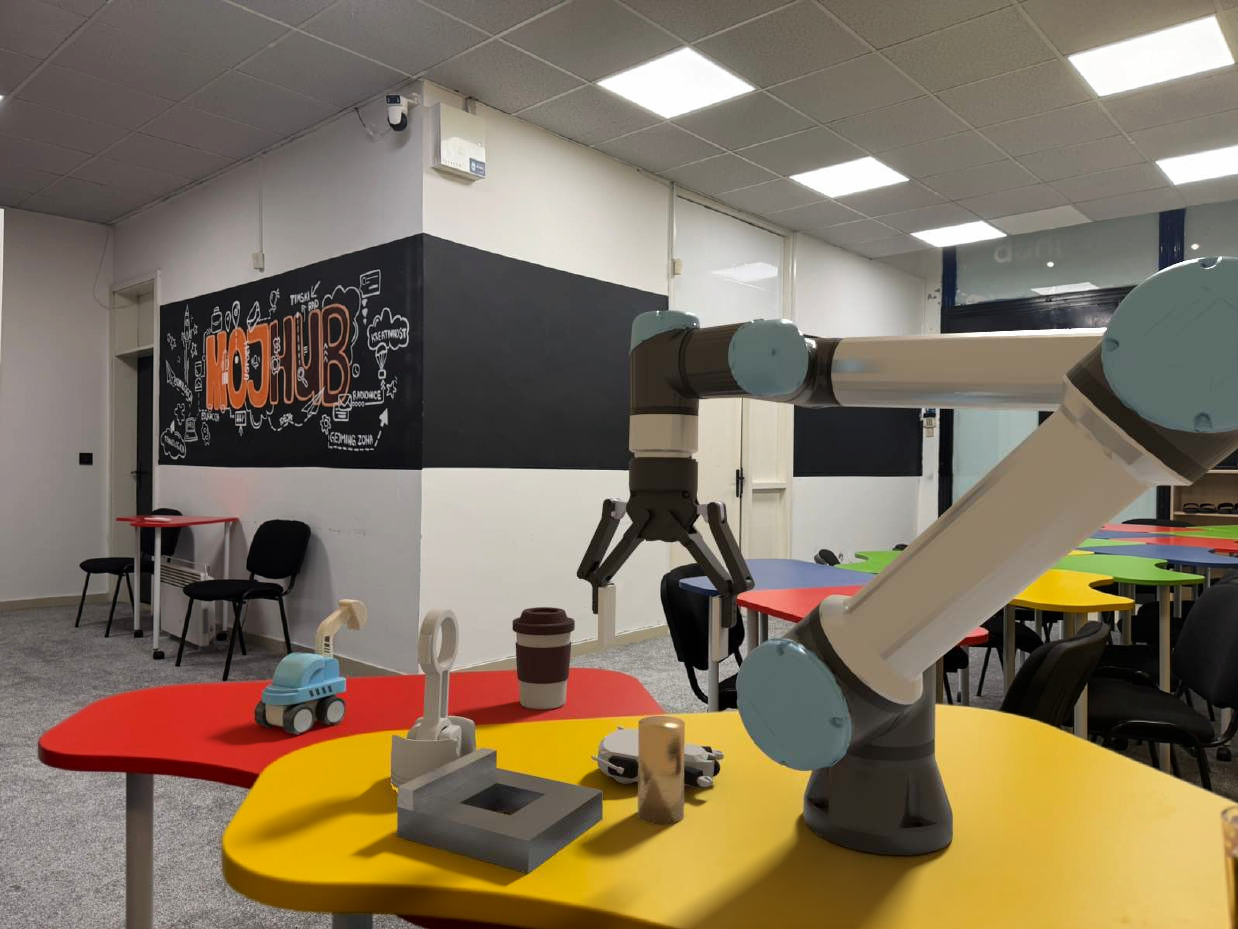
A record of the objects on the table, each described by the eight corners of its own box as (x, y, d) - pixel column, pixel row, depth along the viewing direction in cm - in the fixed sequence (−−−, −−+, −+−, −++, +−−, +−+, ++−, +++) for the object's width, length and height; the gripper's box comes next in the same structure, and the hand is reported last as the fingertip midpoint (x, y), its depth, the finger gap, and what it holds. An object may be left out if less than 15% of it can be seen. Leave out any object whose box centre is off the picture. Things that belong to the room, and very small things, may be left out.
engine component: (374, 793, 96) (456, 801, 94) (377, 615, 96) (459, 618, 94) (416, 761, 106) (490, 768, 104) (418, 601, 107) (492, 604, 104)
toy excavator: (381, 712, 128) (382, 600, 128) (286, 741, 114) (288, 615, 114) (344, 703, 133) (345, 595, 133) (248, 730, 119) (250, 609, 119)
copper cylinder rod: (691, 811, 91) (691, 720, 91) (672, 828, 87) (673, 732, 87) (650, 802, 94) (650, 713, 94) (629, 818, 89) (630, 725, 89)
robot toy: (725, 774, 106) (611, 754, 109) (728, 739, 105) (614, 720, 109) (710, 812, 94) (583, 788, 98) (714, 772, 94) (586, 749, 97)
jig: (602, 818, 89) (602, 772, 89) (528, 873, 77) (528, 819, 77) (482, 790, 97) (482, 747, 97) (397, 836, 84) (397, 787, 84)
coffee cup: (512, 696, 138) (513, 605, 138) (572, 695, 139) (573, 605, 139) (511, 713, 128) (512, 615, 128) (575, 712, 129) (576, 615, 129)
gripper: (785, 457, 88) (783, 657, 88) (582, 456, 100) (580, 633, 100) (762, 455, 82) (760, 672, 81) (548, 454, 93) (545, 644, 93)
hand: (661, 651), depth 91 cm, fingers open, 13 cm apart
